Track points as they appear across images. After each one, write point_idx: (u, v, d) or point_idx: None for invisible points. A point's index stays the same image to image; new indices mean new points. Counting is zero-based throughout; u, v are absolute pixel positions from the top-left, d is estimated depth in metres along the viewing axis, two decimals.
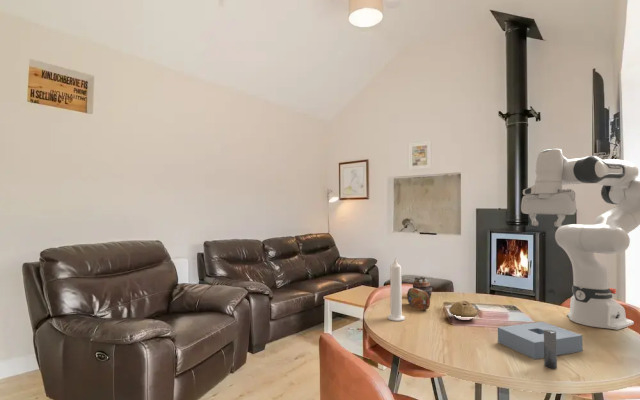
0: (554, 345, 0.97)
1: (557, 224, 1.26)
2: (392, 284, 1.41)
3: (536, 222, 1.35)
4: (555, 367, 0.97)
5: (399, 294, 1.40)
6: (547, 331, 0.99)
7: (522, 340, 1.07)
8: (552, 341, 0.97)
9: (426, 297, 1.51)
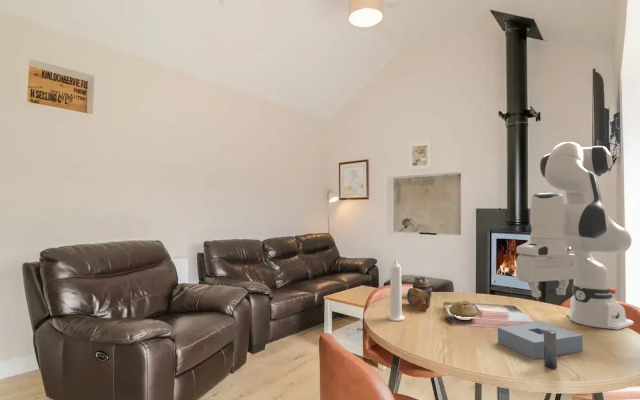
0: (554, 345, 0.97)
1: (564, 292, 1.00)
2: (392, 284, 1.41)
3: None
4: (555, 367, 0.97)
5: (399, 294, 1.40)
6: (547, 331, 0.99)
7: (522, 340, 1.07)
8: (552, 341, 0.97)
9: (426, 297, 1.51)
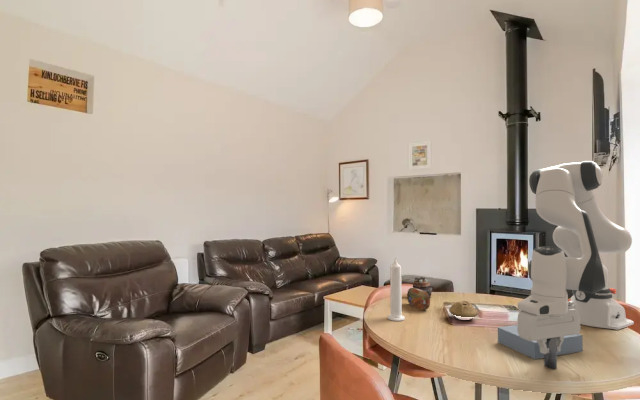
0: (554, 345, 0.97)
1: (559, 349, 0.99)
2: (392, 284, 1.41)
3: None
4: (555, 367, 0.97)
5: (399, 294, 1.40)
6: None
7: (522, 340, 1.07)
8: (552, 341, 0.97)
9: (426, 297, 1.51)
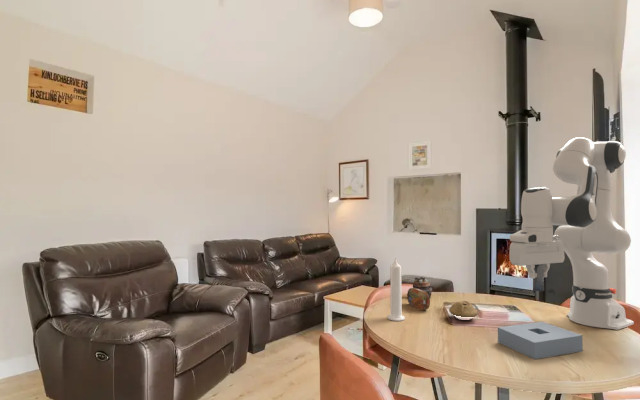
0: (541, 270, 1.12)
1: (546, 275, 1.13)
2: (392, 284, 1.41)
3: None
4: (542, 289, 1.12)
5: (399, 294, 1.40)
6: None
7: (522, 340, 1.07)
8: (539, 267, 1.12)
9: (426, 297, 1.51)
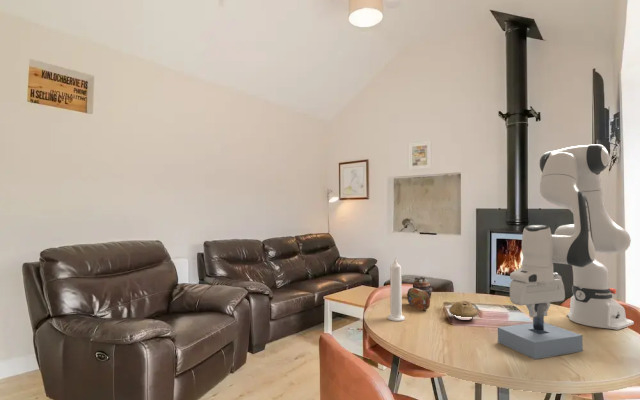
0: (541, 309, 1.12)
1: (546, 313, 1.13)
2: (392, 284, 1.41)
3: None
4: (542, 329, 1.12)
5: (399, 294, 1.40)
6: None
7: (522, 340, 1.07)
8: (539, 306, 1.12)
9: (426, 297, 1.51)
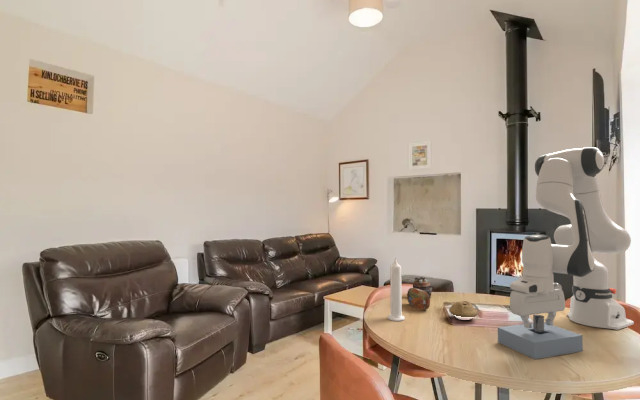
0: (542, 327, 1.12)
1: (552, 323, 1.14)
2: (392, 284, 1.41)
3: None
4: None
5: (399, 294, 1.40)
6: (536, 315, 1.13)
7: (522, 340, 1.07)
8: (540, 324, 1.12)
9: (426, 297, 1.51)
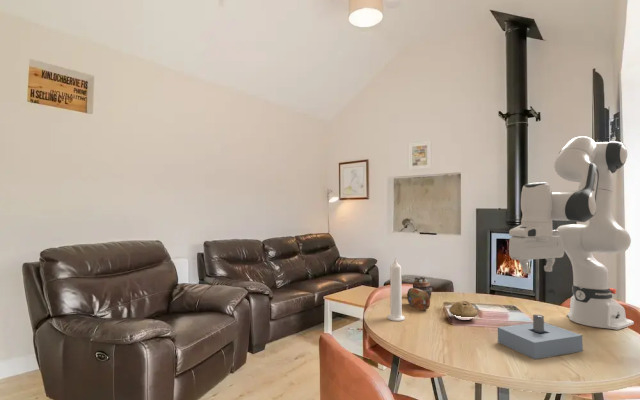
0: (542, 327, 1.12)
1: (551, 269, 1.14)
2: (392, 284, 1.41)
3: None
4: None
5: (399, 294, 1.40)
6: (536, 315, 1.13)
7: (522, 340, 1.07)
8: (540, 324, 1.12)
9: (426, 297, 1.51)
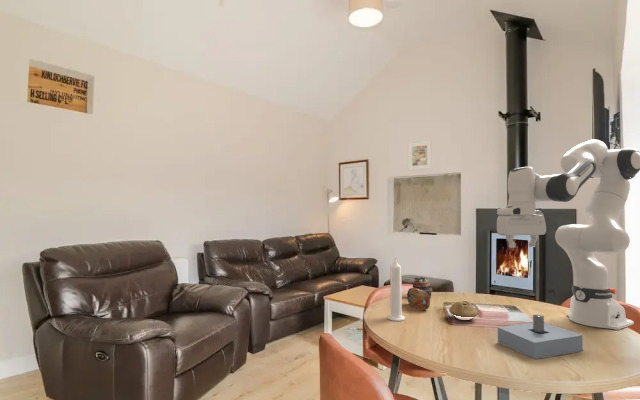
0: (542, 327, 1.12)
1: (534, 245, 1.28)
2: (392, 284, 1.41)
3: None
4: None
5: (399, 294, 1.40)
6: (536, 315, 1.13)
7: (522, 340, 1.07)
8: (540, 324, 1.12)
9: (426, 297, 1.51)
